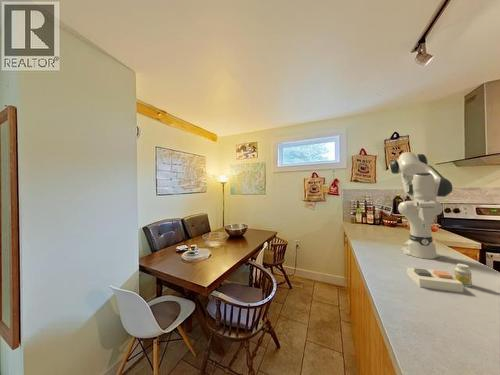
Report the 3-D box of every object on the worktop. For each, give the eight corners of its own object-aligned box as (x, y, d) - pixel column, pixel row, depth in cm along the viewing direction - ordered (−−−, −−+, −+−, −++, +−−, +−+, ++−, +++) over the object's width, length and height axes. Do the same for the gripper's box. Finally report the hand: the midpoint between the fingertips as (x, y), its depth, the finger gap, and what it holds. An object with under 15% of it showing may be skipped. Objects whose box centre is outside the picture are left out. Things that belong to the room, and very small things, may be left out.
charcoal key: (414, 273, 100) (414, 268, 100) (426, 275, 98) (425, 269, 98) (418, 278, 95) (418, 272, 95) (431, 279, 93) (431, 273, 93)
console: (407, 274, 104) (407, 267, 104) (444, 278, 99) (444, 271, 99) (419, 286, 91) (419, 278, 91) (463, 292, 86) (462, 283, 86)
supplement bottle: (465, 287, 89) (464, 267, 90) (452, 282, 95) (451, 263, 95) (475, 286, 90) (474, 267, 90) (461, 281, 95) (460, 262, 95)
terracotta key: (433, 275, 97) (433, 270, 97) (445, 277, 95) (445, 271, 95) (439, 280, 92) (438, 274, 92) (452, 281, 90) (452, 275, 90)
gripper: (414, 201, 109) (416, 225, 108) (419, 203, 92) (421, 231, 92) (429, 201, 105) (431, 226, 104) (437, 203, 89) (439, 232, 88)
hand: (426, 228), depth 98 cm, fingers open, 8 cm apart
